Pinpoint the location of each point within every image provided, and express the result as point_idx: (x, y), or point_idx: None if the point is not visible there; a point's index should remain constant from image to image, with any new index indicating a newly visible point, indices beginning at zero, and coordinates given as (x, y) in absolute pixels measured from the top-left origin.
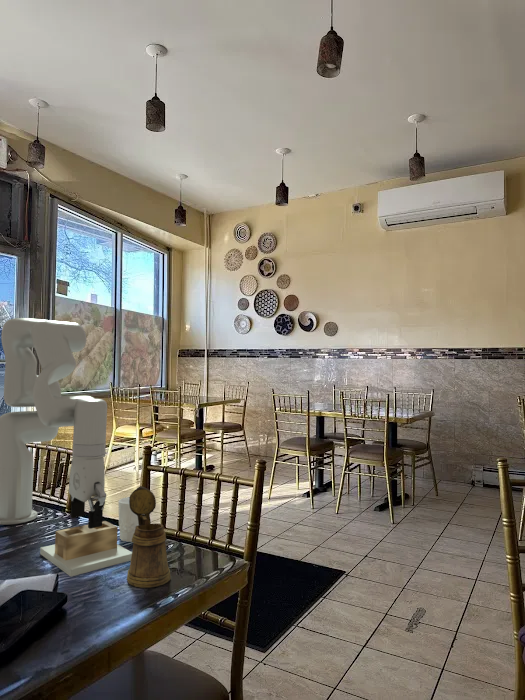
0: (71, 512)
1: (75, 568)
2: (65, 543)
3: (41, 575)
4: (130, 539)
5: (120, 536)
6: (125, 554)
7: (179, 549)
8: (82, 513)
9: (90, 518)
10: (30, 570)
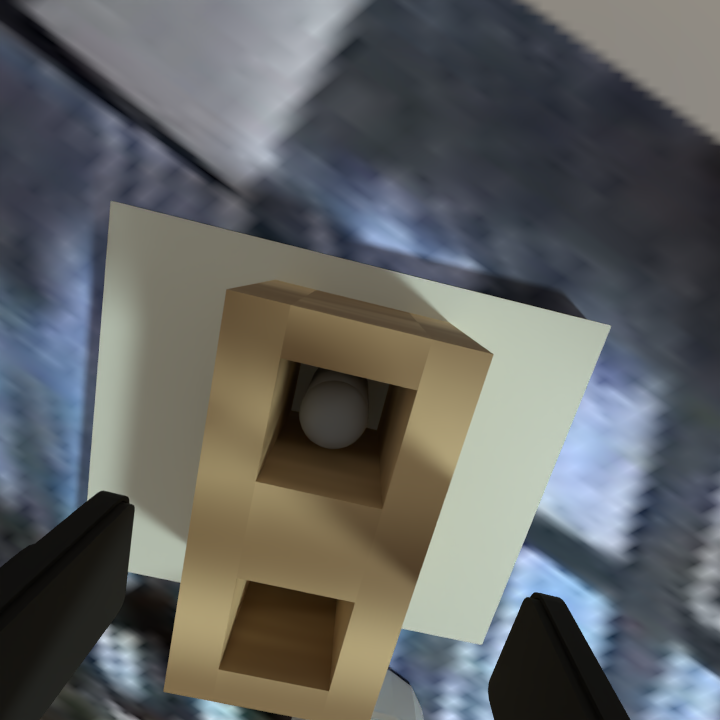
0: (575, 644)
1: (108, 230)
2: (261, 290)
3: (285, 114)
4: None
5: (383, 685)
6: None
7: (65, 716)
8: (501, 704)
9: (10, 575)
10: (410, 120)
